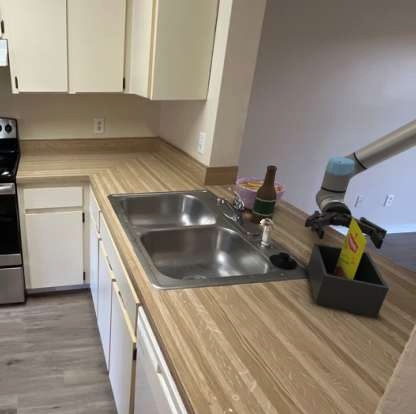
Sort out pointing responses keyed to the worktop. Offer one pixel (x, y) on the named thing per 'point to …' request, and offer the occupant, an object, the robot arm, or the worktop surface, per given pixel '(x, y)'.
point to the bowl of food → (255, 190)
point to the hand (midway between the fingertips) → (350, 239)
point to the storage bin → (346, 283)
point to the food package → (350, 252)
